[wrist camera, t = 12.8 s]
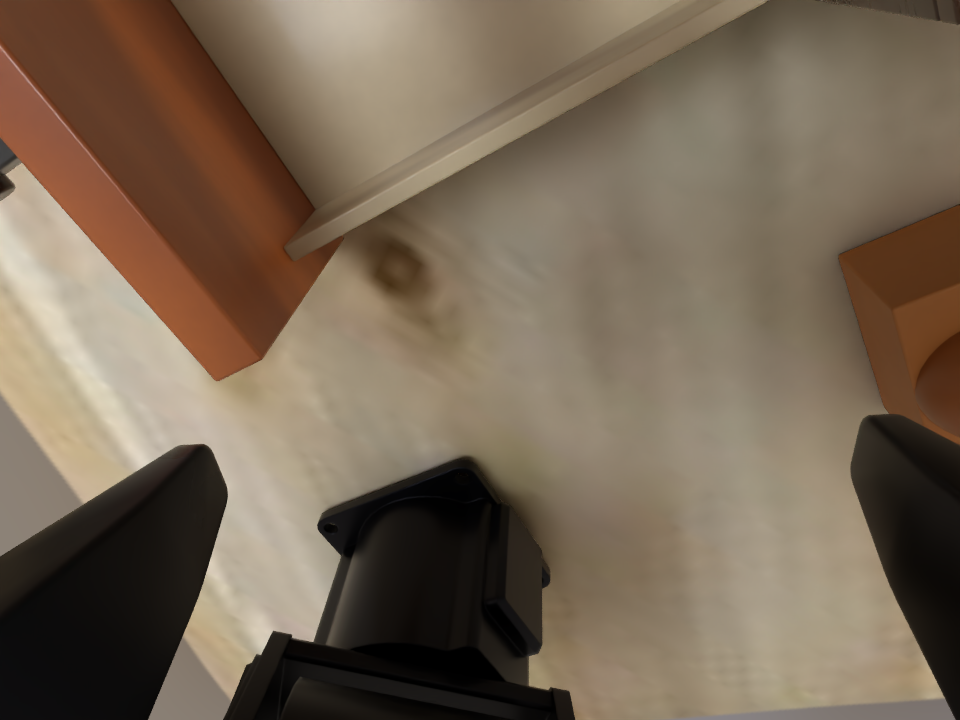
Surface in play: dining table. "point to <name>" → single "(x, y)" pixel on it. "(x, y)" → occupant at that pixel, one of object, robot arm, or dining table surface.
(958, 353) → the loaf
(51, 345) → the dining table surface
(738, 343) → the dining table surface
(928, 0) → the cabinet
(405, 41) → the drawer
